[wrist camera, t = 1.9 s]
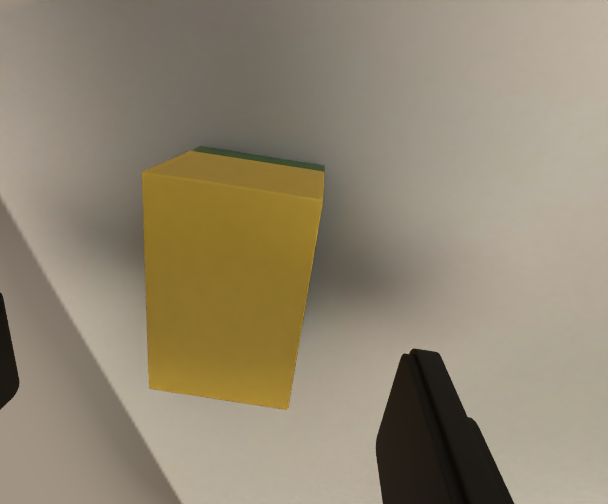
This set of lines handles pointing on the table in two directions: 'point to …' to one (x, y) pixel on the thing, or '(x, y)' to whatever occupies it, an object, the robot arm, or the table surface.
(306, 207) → the sponge
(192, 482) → the table surface
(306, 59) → the table surface
